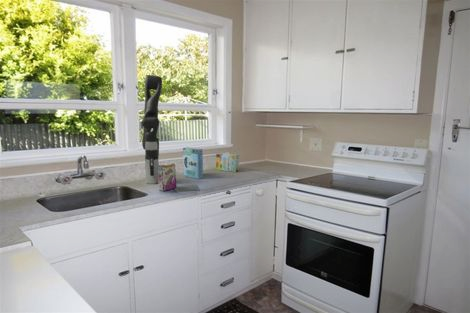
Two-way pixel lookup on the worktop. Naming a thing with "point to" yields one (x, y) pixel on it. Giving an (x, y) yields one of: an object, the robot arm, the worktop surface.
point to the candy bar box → (166, 176)
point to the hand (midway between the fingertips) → (152, 175)
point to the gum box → (193, 162)
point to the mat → (186, 188)
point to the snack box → (227, 162)
